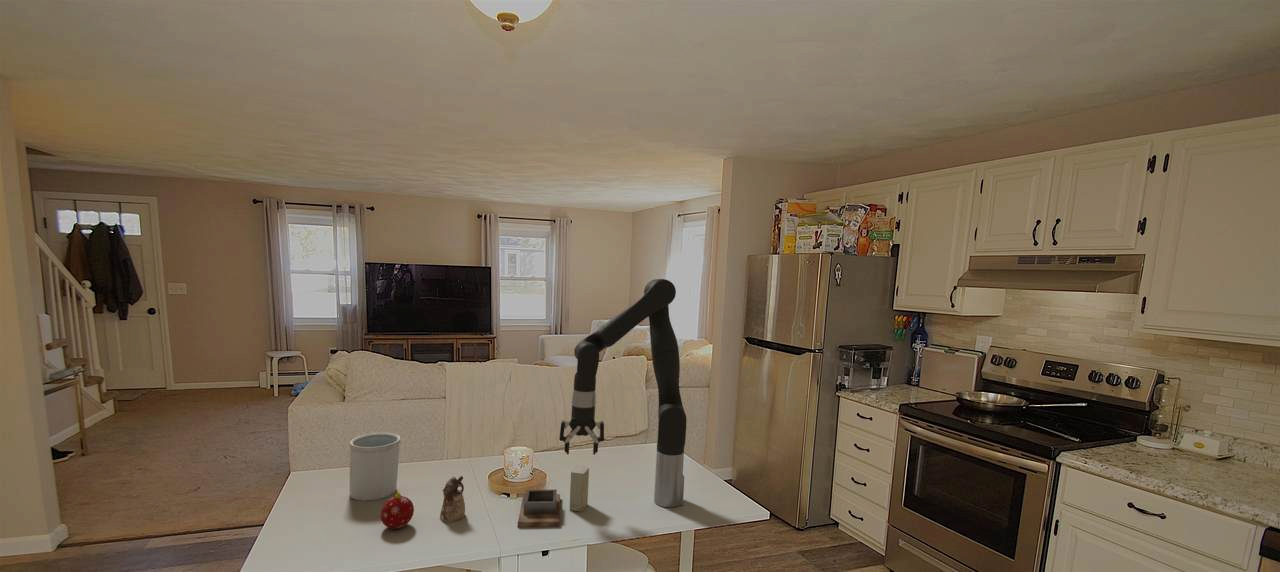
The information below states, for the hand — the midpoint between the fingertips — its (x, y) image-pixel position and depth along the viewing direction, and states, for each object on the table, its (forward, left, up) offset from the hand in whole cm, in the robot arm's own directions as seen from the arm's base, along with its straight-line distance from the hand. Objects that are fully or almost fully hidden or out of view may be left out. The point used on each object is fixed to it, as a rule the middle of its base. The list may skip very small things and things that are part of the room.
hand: (580, 453), depth 163 cm
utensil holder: (+67, -13, -18) cm, 70 cm away
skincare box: (0, 0, -18) cm, 18 cm away
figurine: (+38, +5, -18) cm, 42 cm away
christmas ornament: (+52, +11, -18) cm, 56 cm away
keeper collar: (+12, +3, -16) cm, 20 cm away
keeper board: (+12, +3, -17) cm, 21 cm away
